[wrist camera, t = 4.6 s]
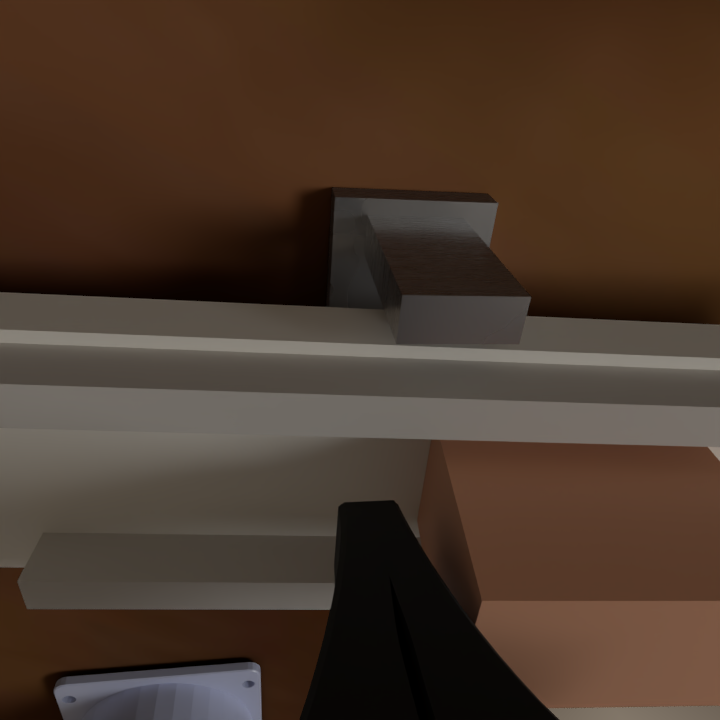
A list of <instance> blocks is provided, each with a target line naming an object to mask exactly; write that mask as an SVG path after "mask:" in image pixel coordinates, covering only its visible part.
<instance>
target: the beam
mask: <svg viewBox="0 0 720 720" xmlns="http://www.w3.org/2000/svg"><path fill="white" fill-rule="evenodd" d="M431 439H432V440H470V441H507V442H545V443H582V444H620V445H657V446H695V447H708V448H709V449H710V450H711V451H712V453H713V454H714V455H715V456H716V457H717V458H718V460H719V461H720V325H713V324H691V323H669V322H647V321H625V320H603V319H581V318H559V317H537V316H526V320H525V323H524V327H523V331H522V335H521V339H520V343H519V344H396V342H395V339H394V337H393V334H392V331H391V328H390V325H389V323H388V320H387V317H386V314H385V311H384V310H382V309H360V308H338V307H316V306H294V305H272V304H250V303H228V302H206V301H184V300H162V299H140V298H117V297H95V296H73V295H51V294H29V293H7V292H0V567H25V568H24V569H23V571H22V573H21V575H20V577H19V579H18V581H17V582H18V585H19V588H20V590H21V593H22V596H23V599H24V601H25V604H26V607H27V609H292V610H330V608H331V604H332V599H333V594H334V588H335V576H334V558H335V544H336V531H337V518H338V506H340V505H341V504H343V503H344V502H361V501H384V500H394V501H395V502H396V503H397V504H398V505H399V507H400V509H401V511H402V513H403V515H404V517H405V519H406V521H407V523H408V525H409V526H410V528H411V530H412V532H413V533H414V535H415V537H416V539H417V540H418V542H419V544H420V545H421V539H420V534H419V528H418V522H417V518H418V512H419V506H420V501H421V495H422V489H423V484H424V478H425V472H426V467H427V461H428V455H429V450H430V444H431ZM421 547H422V545H421Z"/></svg>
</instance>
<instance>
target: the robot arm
mask: <svg viewBox="0 0 720 720" xmlns="http://www.w3.org/2000/svg"><path fill="white" fill-rule="evenodd" d="M334 576H335V588H334V594H333V599H332V604H331V608H330V613H329V617H328V622H327V626H326V630H325V635H324V639H323V643H322V647H321V651H320V654H319V658H318V662H317V665H316V669H315V672H314V676H313V679H312V682H311V686H310V689H309V692H308V695H307V699H306V702H305V705H304V708H303V711H302V714H301V717H300V720H559V719H558V718H557V717H556V716H555V715H554V714H553V713H552V712H551V711H550V710H549V709H548V708H547V707H546V706H545V705H544V704H543V703H542V702H541V701H540V700H539V699H538V698H537V697H536V696H535V695H534V694H533V693H532V691H531V690H530V689H529V688H528V687H527V686H526V685H525V684H524V683H523V682H522V681H521V679H520V678H519V677H518V676H517V675H516V674H515V673H514V672H513V670H512V669H511V668H510V667H509V666H508V665H507V664H506V662H505V661H504V660H503V659H502V658H501V657H500V655H499V654H498V653H497V652H496V651H495V649H494V648H493V647H492V646H491V645H490V643H489V642H488V641H487V640H486V638H485V637H484V636H483V635H482V633H481V632H480V631H479V629H478V628H477V627H476V625H475V624H474V623H473V622H472V620H471V619H470V618H469V616H468V615H467V614H466V612H465V611H464V610H463V608H462V607H461V605H460V604H459V603H458V601H457V600H456V598H455V597H454V596H453V594H452V593H451V591H450V590H449V588H448V587H447V585H446V584H445V582H444V581H443V579H442V578H441V577H440V575H439V574H438V572H437V571H436V569H435V568H434V566H433V565H432V563H431V561H430V560H429V558H428V557H427V555H426V553H425V552H424V550H423V548H422V547H421V545H420V544H419V542H418V540H417V539H416V537H415V535H414V533H413V532H412V530H411V528H410V526H409V525H408V523H407V521H406V519H405V517H404V515H403V513H402V511H401V509H400V507H399V505H398V504H397V503H396V502H395V501H394V500H384V501H361V502H344V503H343V504H341V505H340V506H338V518H337V531H336V544H335V558H334ZM54 695H55V698H56V701H57V704H58V706H59V709H60V712H61V714H62V717H63V720H262V711H261V670H260V666H259V665H258V664H257V663H254V662H240V663H227V664H215V665H203V666H190V667H178V668H165V669H153V670H141V671H128V672H116V673H103V674H91V675H79V676H67V677H63V678H61V679H59V680H57V682H56V684H55V687H54Z"/></svg>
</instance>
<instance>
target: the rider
mask: <svg viewBox="0 0 720 720" xmlns="http://www.w3.org/2000/svg"><path fill="white" fill-rule="evenodd" d="M417 522H418V528H419V534H420V539H421V545H422V548H423V550H424V552H425V553H426V555H427V557H428V558H429V560H430V561H431V563H432V565H433V566H434V568H435V569H436V571H437V572H438V574H439V575H440V577H441V578H442V579H443V581H444V582H445V584H446V585H447V587H448V588H449V590H450V591H451V593H452V594H453V596H454V597H455V598H456V600H457V601H458V603H459V604H460V605H461V607H462V608H463V610H464V611H465V612H466V614H467V615H468V616H469V618H470V619H471V620H472V622H473V623H474V624H475V625H476V627H477V628H478V629H479V631H480V632H481V633H482V635H483V636H484V637H485V638H486V640H487V641H488V642H489V643H490V645H491V646H492V647H493V648H494V649H495V651H496V652H497V653H498V654H499V655H500V657H501V658H502V659H503V660H504V661H505V662H506V664H507V665H508V666H509V667H510V668H511V669H512V670H513V672H514V673H515V674H516V675H517V676H518V677H519V678H520V679H521V681H522V682H523V683H524V684H525V685H526V686H527V687H528V688H529V689H530V690H531V691H532V693H533V694H534V695H535V696H536V697H537V698H538V699H539V700H540V701H541V702H542V703H543V704H544V705H545V706H546V707H547V708H586V707H587V708H593V707H657V706H720V461H719V460H718V458H717V457H716V456H715V455H714V454H713V453H712V451H711V450H710V449H709V448H708V447H695V446H657V445H620V444H582V443H545V442H507V441H470V440H432V439H431V444H430V450H429V455H428V461H427V467H426V472H425V478H424V484H423V489H422V495H421V501H420V506H419V512H418V518H417Z"/></svg>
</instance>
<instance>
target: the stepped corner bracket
mask: <svg viewBox="0 0 720 720" xmlns="http://www.w3.org/2000/svg"><path fill="white" fill-rule="evenodd" d="M497 206H498V203H497V202H496V201H495V200H494V199H493V198H492V197H491V196H490V195H489V194H481V193H456V192H432V191H407V190H383V189H358V188H334V187H332V197H331V217H330V237H329V257H328V276H327V296H326V307H338V308H360V309H382V310H384V311H385V314H386V317H387V320H388V323H389V325H390V328H391V331H392V334H393V337H394V339H395V342H396V344H519V343H520V339H521V335H522V331H523V327H524V323H525V320H526V316H527V312H528V308H529V304H530V300H531V296H530V295H529V294H528V292H527V291H526V290H525V289H524V288H523V287H522V285H521V284H520V283H519V282H518V281H517V280H516V278H515V277H514V276H513V275H512V274H511V273H510V271H509V270H508V269H507V268H506V267H505V266H504V264H503V263H502V262H501V261H500V260H499V259H498V257H497V256H496V255H495V254H494V253H493V252H492V250H491V249H490V248H489V246H490V241H491V236H492V231H493V226H494V221H495V216H496V211H497Z"/></svg>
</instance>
